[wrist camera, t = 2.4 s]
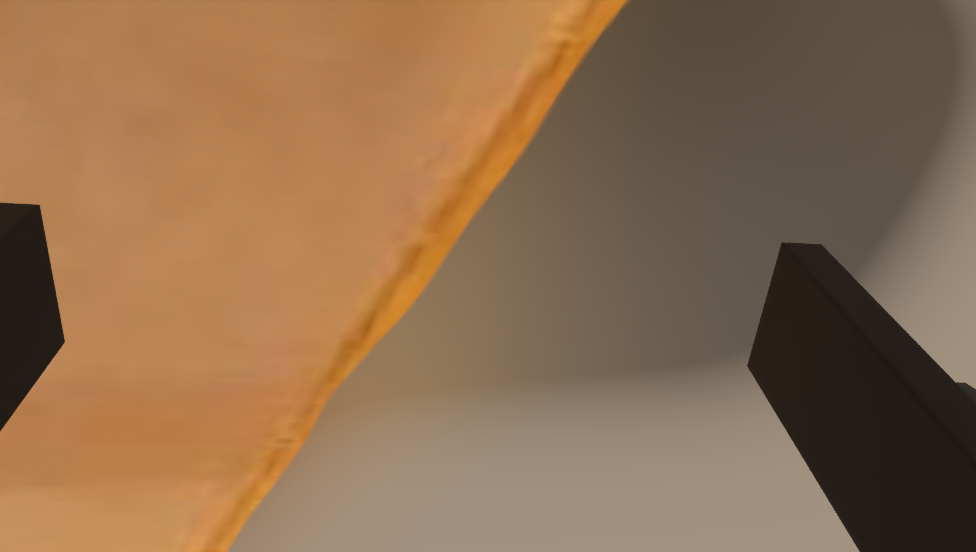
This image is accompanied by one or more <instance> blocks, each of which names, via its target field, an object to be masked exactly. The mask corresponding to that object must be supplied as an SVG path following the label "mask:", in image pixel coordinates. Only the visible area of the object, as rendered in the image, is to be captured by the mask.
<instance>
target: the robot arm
mask: <svg viewBox="0 0 976 552" xmlns="http://www.w3.org/2000/svg"><path fill="white" fill-rule="evenodd" d="M64 343H65V340H64V334H63V329H62V324H61V318H60V313H59V307H58V302H57V297H56V291H55V286H54V280H53V275H52V269H51V264H50V259H49V253H48V248H47V242H46V237H45V232H44V226H43V221H42V215H41V210H40V205H33V204H14V203H0V431H1V430H2V428H3V427H4V425H5V424H6V423H7V421H8V420H9V419H10V417H11V416H12V414H13V413H14V412H15V410H16V409H17V407H18V406H19V405H20V403H21V402H22V401H23V399H24V398H25V396H26V395H27V394H28V392H29V391H30V390H31V388H32V387H33V385H34V384H35V383H36V381H37V380H38V378H39V377H40V376H41V374H42V373H43V372H44V370H45V369H46V367H47V366H48V365H49V363H50V362H51V360H52V359H53V358H54V356H55V355H56V354H57V352H58V351H59V349H60V348H61V347H62V345H63V344H64ZM747 366H748V368H749V370H750V371H751V373H752V374H753V376H754V378H755V380H756V381H757V383H758V385H759V386H760V388H761V389H762V391H763V393H764V394H765V396H766V398H767V399H768V401H769V403H770V404H771V406H772V408H773V409H774V411H775V413H776V414H777V416H778V418H779V419H780V421H781V423H782V424H783V426H784V427H785V429H786V431H787V432H788V434H789V436H790V437H791V439H792V441H793V442H794V444H795V446H796V447H797V449H798V451H799V452H800V454H801V455H802V457H803V459H804V460H805V462H806V464H807V465H808V467H809V469H810V470H811V472H812V473H813V475H814V477H815V479H816V480H817V482H818V484H819V485H820V487H821V488H822V490H823V492H824V493H825V495H826V497H827V498H828V500H829V502H830V503H831V505H832V506H833V508H834V510H835V511H836V513H837V515H838V516H839V518H840V520H841V521H842V523H843V525H844V526H845V528H846V530H847V531H848V533H849V534H850V536H851V538H852V539H853V541H854V543H855V544H856V546H857V548H858V549H859V551H860V552H976V389H974V388H973V387H971V386H970V385H968V384H966V383H956V382H954V380H952V378H951V377H950V376H949V375H948V374H947V373H946V372H945V371H944V370H943V369H942V368H941V367H940V366H939V365H938V364H937V363H936V362H935V361H934V360H933V359H932V358H931V357H930V356H929V355H928V354H927V353H926V352H925V351H924V350H923V349H922V348H921V347H920V345H918V343H917V342H916V341H915V340H914V339H913V338H912V337H911V336H910V335H909V334H908V333H907V332H906V331H905V330H904V329H903V328H902V327H901V326H900V325H899V324H898V323H897V322H896V321H895V320H894V319H893V318H892V317H891V316H890V315H889V314H888V313H887V312H886V311H885V310H884V308H882V306H881V305H880V304H879V303H878V302H877V301H876V300H875V299H874V298H873V297H872V296H871V295H870V294H869V293H868V292H867V291H866V290H865V289H864V288H863V287H862V286H861V285H860V284H859V283H858V282H857V281H856V280H855V279H854V278H853V277H852V276H851V275H850V273H848V271H846V270H845V268H844V267H843V266H842V265H841V264H840V263H839V262H838V261H837V260H836V259H835V258H834V257H833V256H832V255H831V254H830V253H829V252H828V251H827V250H826V249H825V248H824V247H823V246H822V245H821V244H802V243H782V244H781V247H780V251H779V255H778V258H777V261H776V265H775V269H774V272H773V276H772V279H771V283H770V287H769V290H768V294H767V297H766V301H765V304H764V308H763V312H762V315H761V319H760V322H759V326H758V330H757V333H756V337H755V340H754V344H753V348H752V351H751V355H750V358H749V362H748V365H747Z"/></svg>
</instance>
